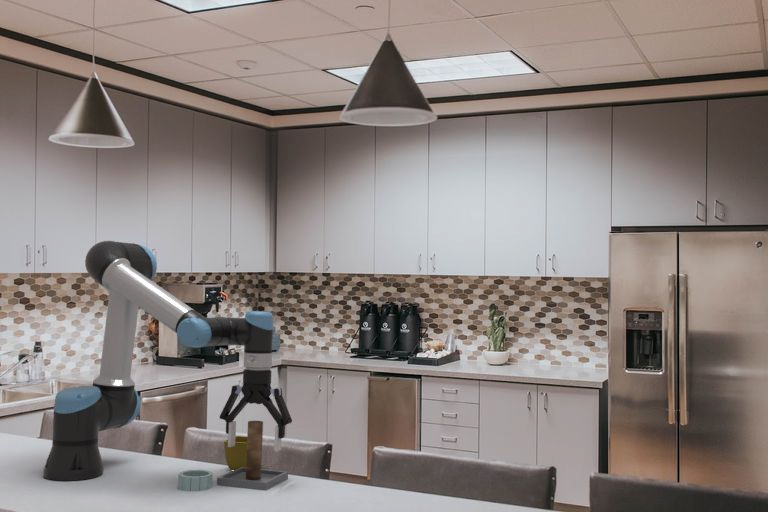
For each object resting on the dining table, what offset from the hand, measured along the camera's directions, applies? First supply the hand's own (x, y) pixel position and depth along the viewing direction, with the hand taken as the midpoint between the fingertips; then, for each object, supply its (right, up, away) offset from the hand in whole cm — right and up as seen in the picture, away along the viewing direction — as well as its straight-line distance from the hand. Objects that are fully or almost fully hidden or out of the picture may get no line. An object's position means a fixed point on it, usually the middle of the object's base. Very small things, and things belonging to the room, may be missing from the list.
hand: (254, 448), depth 206 cm
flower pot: (-6, -10, +15) cm, 19 cm away
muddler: (0, -8, -1) cm, 8 cm away
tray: (0, -9, -1) cm, 9 cm away
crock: (-14, -9, -8) cm, 18 cm away
